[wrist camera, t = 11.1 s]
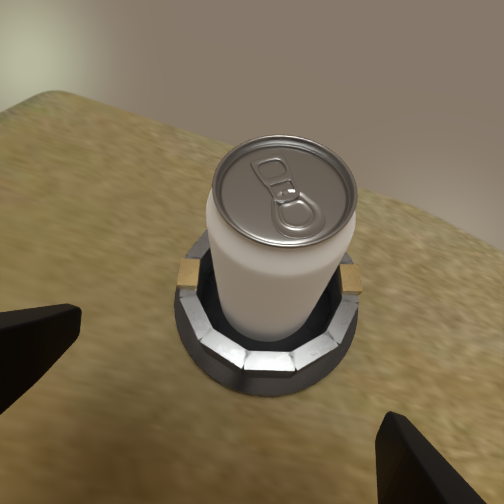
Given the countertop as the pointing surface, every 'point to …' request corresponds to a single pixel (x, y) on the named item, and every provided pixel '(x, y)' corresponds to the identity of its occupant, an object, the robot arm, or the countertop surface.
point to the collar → (258, 352)
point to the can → (277, 231)
